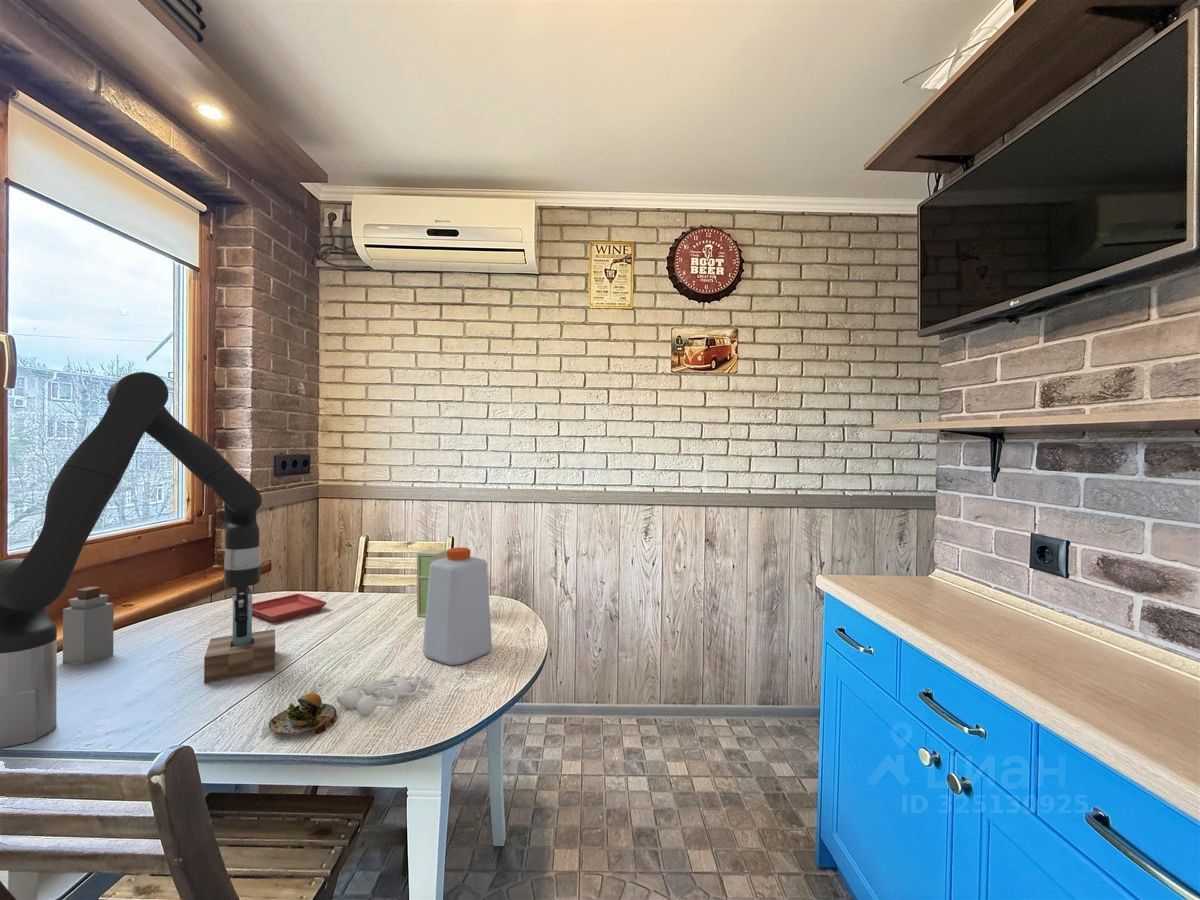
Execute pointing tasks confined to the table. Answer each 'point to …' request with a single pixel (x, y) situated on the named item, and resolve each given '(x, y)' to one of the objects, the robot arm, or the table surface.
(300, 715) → the burger
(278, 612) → the plant saucer
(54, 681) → the robot arm
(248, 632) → the pin
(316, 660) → the table surface
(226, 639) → the bore block
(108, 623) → the perfume bottle
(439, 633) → the plastic bottle
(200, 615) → the table surface
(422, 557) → the toy refrigerator
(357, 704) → the tangled rod sculpture
